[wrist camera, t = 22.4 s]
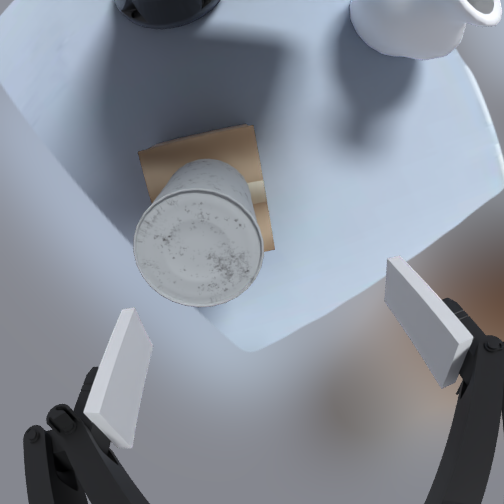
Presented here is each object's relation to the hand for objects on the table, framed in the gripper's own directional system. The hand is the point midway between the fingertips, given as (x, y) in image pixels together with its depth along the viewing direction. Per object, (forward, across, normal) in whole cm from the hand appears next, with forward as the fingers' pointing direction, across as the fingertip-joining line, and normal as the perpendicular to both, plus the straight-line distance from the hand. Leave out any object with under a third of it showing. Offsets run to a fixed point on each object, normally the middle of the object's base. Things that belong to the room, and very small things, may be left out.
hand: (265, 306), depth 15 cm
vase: (+29, +25, +21) cm, 44 cm away
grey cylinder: (+20, -4, 0) cm, 20 cm away
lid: (+21, -4, 0) cm, 21 cm away
